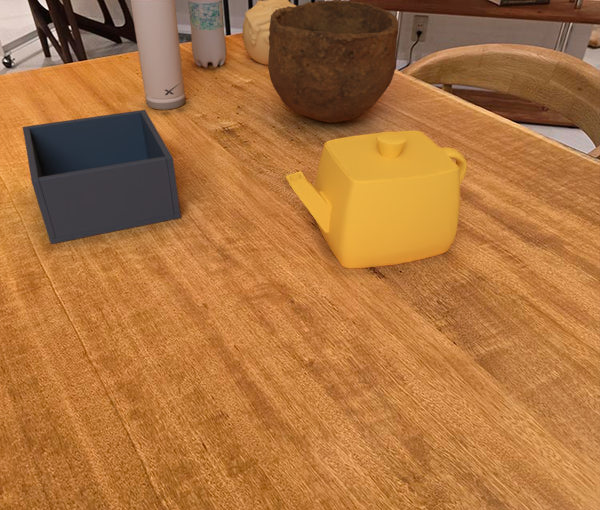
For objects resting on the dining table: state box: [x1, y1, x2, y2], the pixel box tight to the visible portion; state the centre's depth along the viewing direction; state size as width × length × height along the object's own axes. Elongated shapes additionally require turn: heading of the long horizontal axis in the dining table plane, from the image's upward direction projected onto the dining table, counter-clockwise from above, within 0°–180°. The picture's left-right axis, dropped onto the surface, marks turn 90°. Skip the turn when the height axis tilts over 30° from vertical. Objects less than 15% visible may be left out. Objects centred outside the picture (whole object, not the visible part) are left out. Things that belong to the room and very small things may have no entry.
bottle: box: [187, 0, 227, 69], centre depth 104 cm, size 7×7×20 cm
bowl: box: [267, 0, 400, 123], centre depth 87 cm, size 19×19×15 cm
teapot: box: [284, 130, 468, 269], centre depth 62 cm, size 20×12×12 cm, turn 106°
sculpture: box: [241, 0, 297, 66], centre depth 109 cm, size 11×12×11 cm
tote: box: [22, 109, 182, 245], centre depth 69 cm, size 14×14×8 cm
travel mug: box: [130, 0, 186, 111], centre depth 89 cm, size 6×7×20 cm
